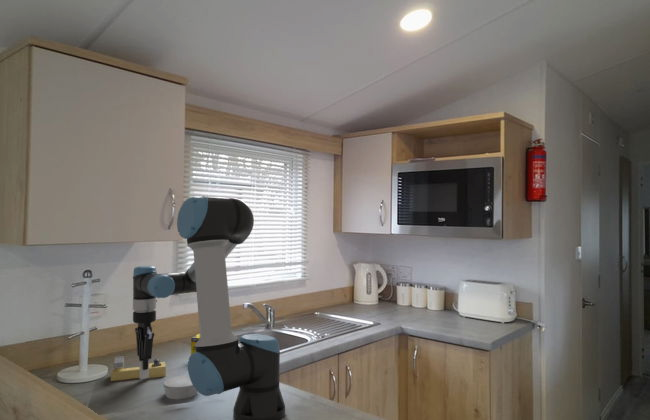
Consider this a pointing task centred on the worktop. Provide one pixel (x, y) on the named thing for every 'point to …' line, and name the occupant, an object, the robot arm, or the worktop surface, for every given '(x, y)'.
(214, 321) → the robot arm
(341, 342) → the worktop surface
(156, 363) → the pintle post
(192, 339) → the supplement box
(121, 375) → the link
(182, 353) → the worktop surface
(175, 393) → the ramekin
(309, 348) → the worktop surface
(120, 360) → the keeper
